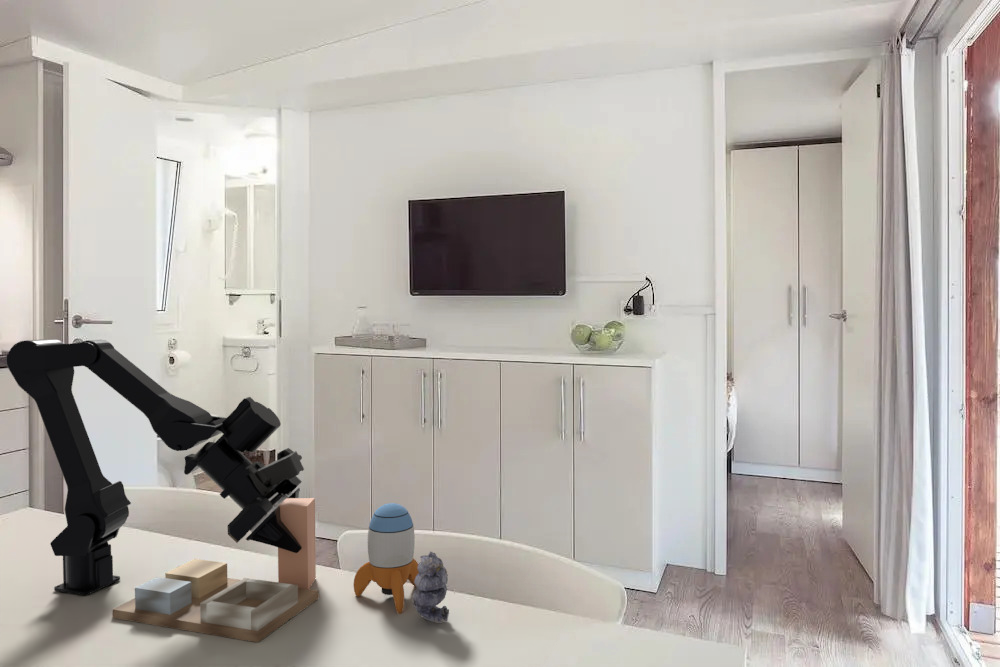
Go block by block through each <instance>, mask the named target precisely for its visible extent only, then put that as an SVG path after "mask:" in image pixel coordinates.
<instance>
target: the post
mask: <svg viewBox="0 0 1000 667" xmlns="http://www.w3.org/2000/svg"><path fill="white" fill-rule="evenodd" d="M278 506H280V518H281V521H282V522H283V523H284V525H285V526H286V527H287V528H288V530H289V531H290V532H291V533H292V535H293V536H294V537H295V538H296V540H297V541H298V542H299V544H300V545H301V547H302V549H301V550H300V551H299V552H298V553H294V552H291V551H288V550H285V549H281V548H278V547H277V564H278V565H277V568H278V569H277V573H278V574H277V577H278V583H286V584H293V585H298V588H304V589H311V587H312V585H313V584H314V582H315V581H316V579H317V576H316V573H317V571H316V566H317V565H316V563H317V562H316V498H315V497H306V498H304V497H302V498H301V497H299V498H286V499H285V500H284V501H283V502H282V503H281V504H280V505H278ZM278 506H277V507H278ZM315 578H316V579H315ZM314 580H315V581H314ZM312 583H313V584H312ZM310 586H311V587H310Z"/></svg>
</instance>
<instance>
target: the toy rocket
mask: <svg viewBox="0 0 1000 667" xmlns="http://www.w3.org/2000/svg"><path fill="white" fill-rule="evenodd" d="M415 538H416V536H415V527H414V522H413V519H412V517H411V515H410V513H409V511H408V510H407V508H406V507H404V506H403V505H402V504H399V503H395V502H390V503H385V504H383V505H381V506H379V507H378V508H377V509H376V510H375V511H374V512H373V515H372V517H371V519H370V522H369V525H368V530H367V557H368V562H366V563H364V564H363V565H361V566H360V567H359V568H358V570H356V573H355V576H354V579H353V591H354V594H355V597H358V598H360V597H361V596H362V595H363V593H364V591H366V589H367V587H368V586H369V584H371V582H374V583H375V584H376V585H377V586H378V587H379V588H381V593H382V594H384V595H386V596H392V597H393V601H394V602H393V603H394V606H395V607H394V608H395V611H396V612H397V613H398V614H402V613H403V612H404V606H405V589H404V585H405V584H406V583H407V581H409V583H411V585H412V586H413V585H414V586H413V587H414V588H417V587H416V586H415V583H414V581H415V578H416V575H417V574H419V572H418V564H419V562H418V561H417V560H416V559H415V558H414V554H415Z"/></svg>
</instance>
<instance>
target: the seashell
mask: <svg viewBox="0 0 1000 667" xmlns="http://www.w3.org/2000/svg"><path fill="white" fill-rule="evenodd" d="M418 572H419V574H417V575H416V578H415V581H414V583H415V586H416V587H415V590H414V591H413V593H412V598H411V599H412V605H413V606H414V609H415V611H416V612H417V614H418V615H420V616H421V617H422V619H424V620H425V621H427V622H430V623H431V622H434V623H436V624H438V623H439V624H441V623H445V622H448V621H449V620H448V619H449V615H450V609H449V608H448V607H447V606H446V605H443V606H442V607H438V605H439V604H441V602H442V601H444V599H446V595H447V591H448V588H447V584H448V575H449V574H448V571H447V569H446V567H445V566H444V563H443V560H442V559H441V558H440V557H438V555H437V554H436V553H435V552H433V551H429V553H428V554H427V555H421V556H420V562H418Z"/></svg>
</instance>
